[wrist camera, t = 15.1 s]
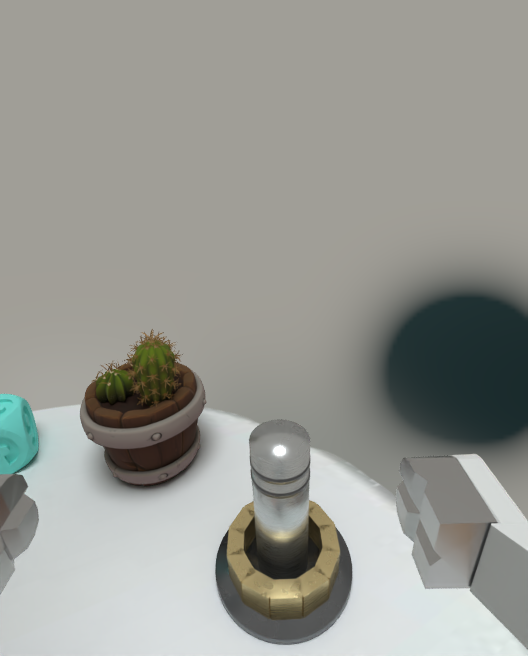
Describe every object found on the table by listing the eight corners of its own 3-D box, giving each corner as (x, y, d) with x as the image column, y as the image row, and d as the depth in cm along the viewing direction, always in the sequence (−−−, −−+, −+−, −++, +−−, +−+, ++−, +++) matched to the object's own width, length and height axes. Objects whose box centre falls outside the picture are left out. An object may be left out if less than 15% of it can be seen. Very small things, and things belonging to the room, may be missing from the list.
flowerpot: (75, 465, 49) (29, 328, 41) (171, 408, 60) (150, 289, 51) (136, 529, 41) (92, 372, 32) (236, 449, 51) (223, 314, 42)
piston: (257, 587, 34) (247, 463, 27) (257, 537, 38) (249, 420, 32) (311, 585, 34) (314, 461, 27) (305, 535, 38) (306, 418, 32)
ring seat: (208, 647, 31) (203, 621, 29) (222, 509, 42) (219, 485, 41) (367, 641, 31) (371, 614, 29) (337, 505, 42) (338, 480, 41)
